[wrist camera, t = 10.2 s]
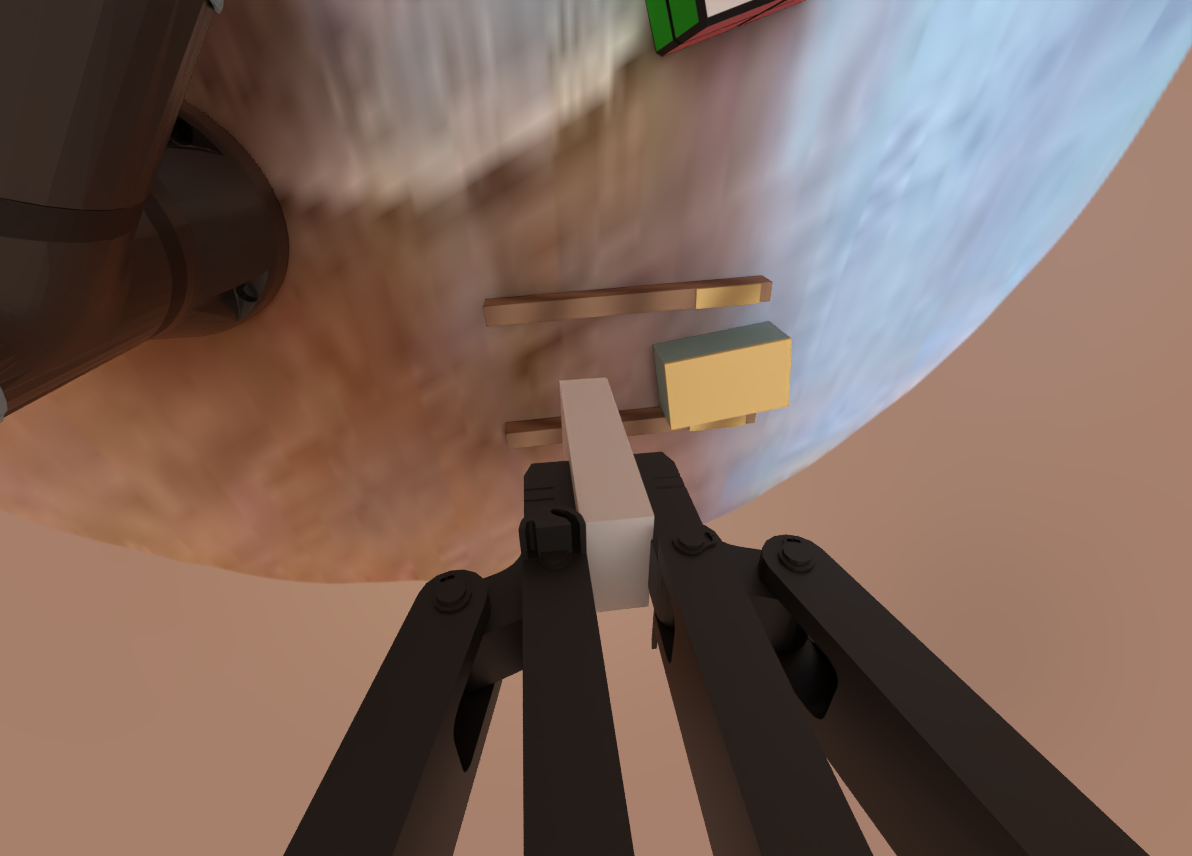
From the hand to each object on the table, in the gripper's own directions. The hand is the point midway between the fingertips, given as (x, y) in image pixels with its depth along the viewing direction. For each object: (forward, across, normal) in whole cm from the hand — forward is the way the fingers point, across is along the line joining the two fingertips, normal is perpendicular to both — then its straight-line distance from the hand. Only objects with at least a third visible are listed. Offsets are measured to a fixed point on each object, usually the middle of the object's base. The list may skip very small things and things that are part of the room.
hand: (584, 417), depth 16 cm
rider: (+25, +14, -10) cm, 30 cm away
